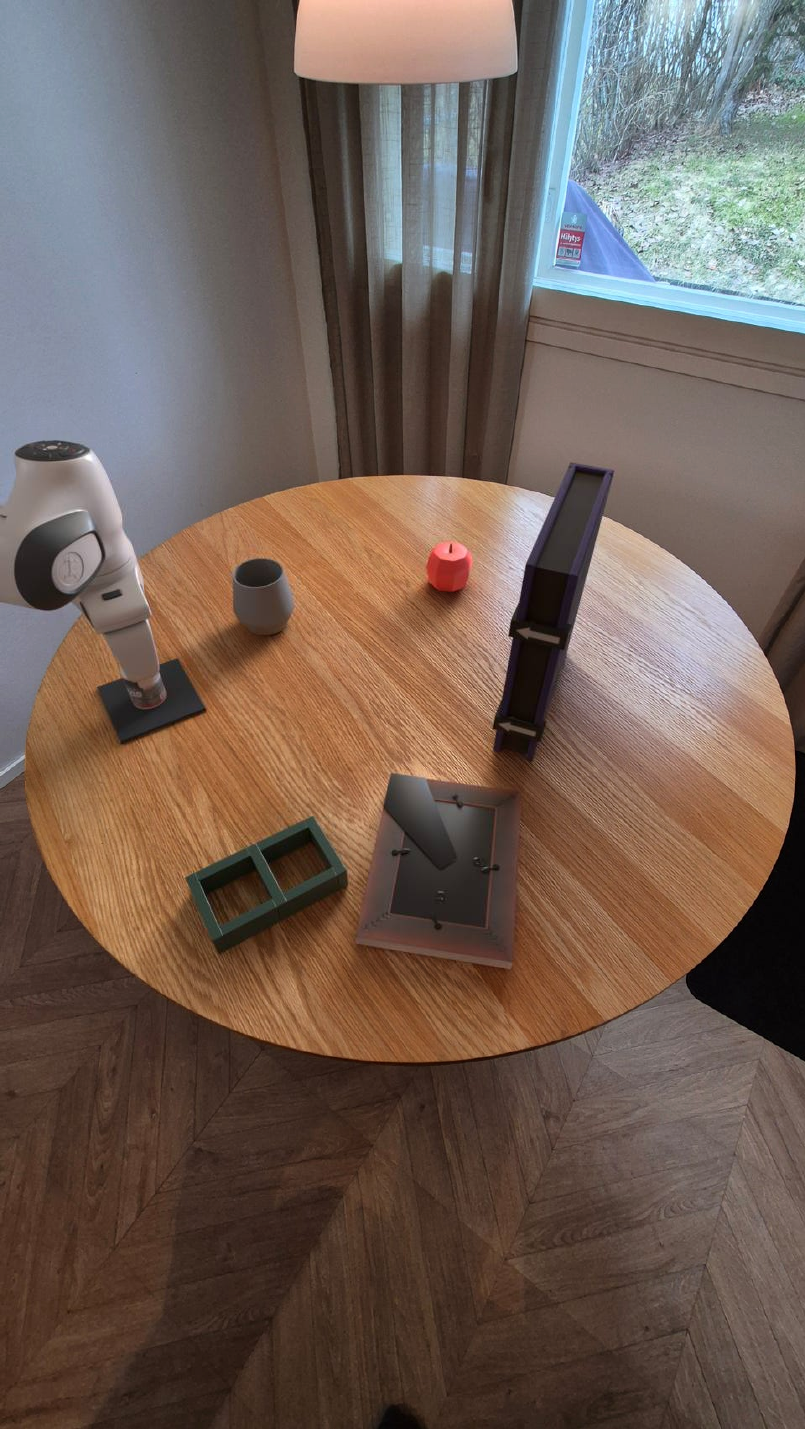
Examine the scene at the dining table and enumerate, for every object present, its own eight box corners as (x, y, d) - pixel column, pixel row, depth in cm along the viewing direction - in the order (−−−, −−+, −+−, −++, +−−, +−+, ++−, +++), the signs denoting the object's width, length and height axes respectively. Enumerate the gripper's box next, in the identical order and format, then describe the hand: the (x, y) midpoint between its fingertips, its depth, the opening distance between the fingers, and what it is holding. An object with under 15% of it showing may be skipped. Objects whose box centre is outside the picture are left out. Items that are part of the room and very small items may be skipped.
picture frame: (390, 784, 85) (355, 945, 71) (390, 772, 83) (354, 935, 69) (519, 802, 83) (510, 970, 69) (522, 790, 82) (513, 961, 67)
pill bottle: (126, 699, 94) (107, 655, 88) (154, 681, 96) (137, 638, 90) (145, 715, 92) (127, 672, 86) (173, 697, 94) (158, 653, 88)
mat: (121, 744, 89) (119, 741, 89) (98, 689, 96) (96, 686, 96) (206, 710, 93) (205, 707, 93) (178, 660, 100) (177, 657, 100)
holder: (218, 954, 70) (211, 941, 67) (191, 892, 75) (184, 877, 72) (348, 885, 76) (347, 870, 73) (315, 831, 80) (313, 815, 78)
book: (529, 643, 104) (566, 461, 81) (569, 653, 102) (618, 470, 80) (488, 752, 89) (520, 565, 67) (534, 766, 87) (582, 579, 65)
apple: (466, 568, 117) (470, 529, 111) (475, 596, 112) (480, 556, 106) (421, 572, 116) (423, 532, 110) (429, 600, 111) (431, 559, 105)
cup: (287, 647, 102) (278, 595, 95) (229, 640, 103) (216, 588, 96) (303, 609, 109) (297, 557, 101) (249, 602, 110) (238, 551, 102)
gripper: (54, 542, 84) (91, 626, 94) (96, 632, 72) (132, 718, 82) (105, 528, 86) (135, 612, 96) (153, 614, 74) (182, 699, 84)
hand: (134, 662), depth 89 cm, fingers open, 8 cm apart
